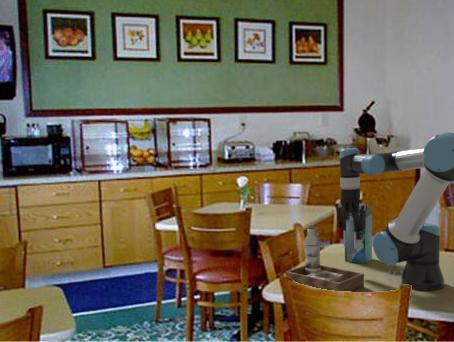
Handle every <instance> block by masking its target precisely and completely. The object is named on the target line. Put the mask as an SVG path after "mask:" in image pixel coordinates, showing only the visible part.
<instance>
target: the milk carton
mask: <svg viewBox="0 0 454 342" xmlns="http://www.w3.org/2000/svg"><path fill="white" fill-rule="evenodd" d="M361 204H363V205H365V203H362V202H361ZM359 208H360V207H359ZM359 208H358V211H359V213H358V214H359V220H360V209H359ZM372 210H373V207H372V206H368V205H367V209H366V227H365V230H362V231H361V239H360V240H359V248H357V253H354V254H350V253H347V249H346V247H344V262H348V261H350V262H351V263H357V264H366V263H367V262H369V261H370V260H372V258H373V233H372V232H373V228H372V227H373V223H372V222H373V216H372V215H373V214H372V213H373V211H372ZM349 219H353V216H352V214H351V212H350V213H349Z"/></svg>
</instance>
